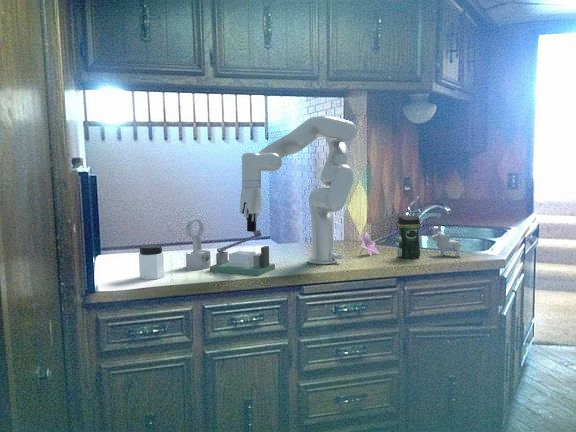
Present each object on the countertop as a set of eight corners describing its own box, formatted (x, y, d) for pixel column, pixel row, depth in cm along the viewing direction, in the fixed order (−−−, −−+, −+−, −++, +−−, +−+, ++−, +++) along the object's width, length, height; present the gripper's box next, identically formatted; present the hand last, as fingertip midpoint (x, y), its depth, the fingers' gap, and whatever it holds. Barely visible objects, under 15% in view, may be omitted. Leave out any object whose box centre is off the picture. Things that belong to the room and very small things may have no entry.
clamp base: (274, 268, 217) (274, 244, 216) (259, 275, 204) (258, 249, 203) (227, 264, 226) (227, 241, 225) (209, 271, 213) (209, 246, 212)
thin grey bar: (262, 236, 212) (260, 229, 213) (257, 238, 208) (254, 231, 209) (223, 251, 221) (221, 244, 221) (217, 253, 217) (215, 246, 217)
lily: (356, 259, 239) (367, 241, 236) (346, 245, 249) (355, 228, 246) (377, 265, 245) (387, 247, 242) (366, 251, 255) (376, 234, 252)
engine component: (215, 266, 223) (199, 264, 229) (214, 217, 220) (198, 216, 227) (195, 271, 214) (179, 268, 221) (194, 220, 212) (177, 218, 218)
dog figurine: (432, 253, 246) (432, 230, 244) (461, 255, 241) (461, 231, 240) (430, 255, 241) (431, 232, 240) (460, 257, 236) (461, 233, 235)
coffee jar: (416, 255, 242) (416, 214, 240) (422, 258, 234) (422, 216, 232) (395, 256, 241) (395, 214, 239) (400, 259, 233) (401, 216, 231)
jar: (167, 277, 203) (166, 246, 202) (147, 281, 198) (146, 249, 197) (156, 274, 210) (155, 243, 209) (136, 277, 205) (135, 246, 203)
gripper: (251, 183, 218) (252, 228, 219) (233, 185, 204) (233, 233, 206) (268, 184, 215) (268, 229, 216) (250, 185, 201) (251, 234, 203)
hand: (251, 231), depth 211 cm, fingers closed
